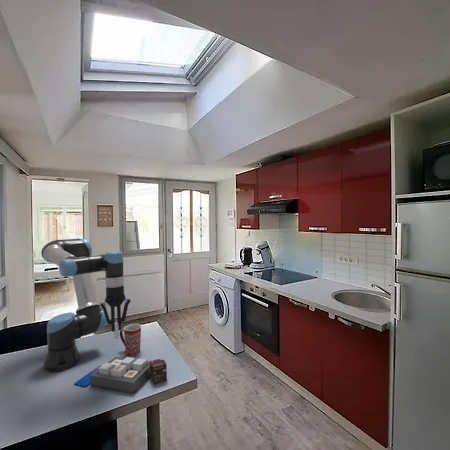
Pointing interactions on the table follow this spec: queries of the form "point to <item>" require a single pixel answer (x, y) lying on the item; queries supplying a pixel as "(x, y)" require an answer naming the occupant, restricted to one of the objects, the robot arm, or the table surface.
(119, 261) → the robot arm
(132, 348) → the mug
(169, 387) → the table surface
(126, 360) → the key
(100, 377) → the keypad
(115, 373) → the key
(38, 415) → the table surface
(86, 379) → the smartphone
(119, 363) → the key
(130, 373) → the key
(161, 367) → the box
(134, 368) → the key
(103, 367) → the key
